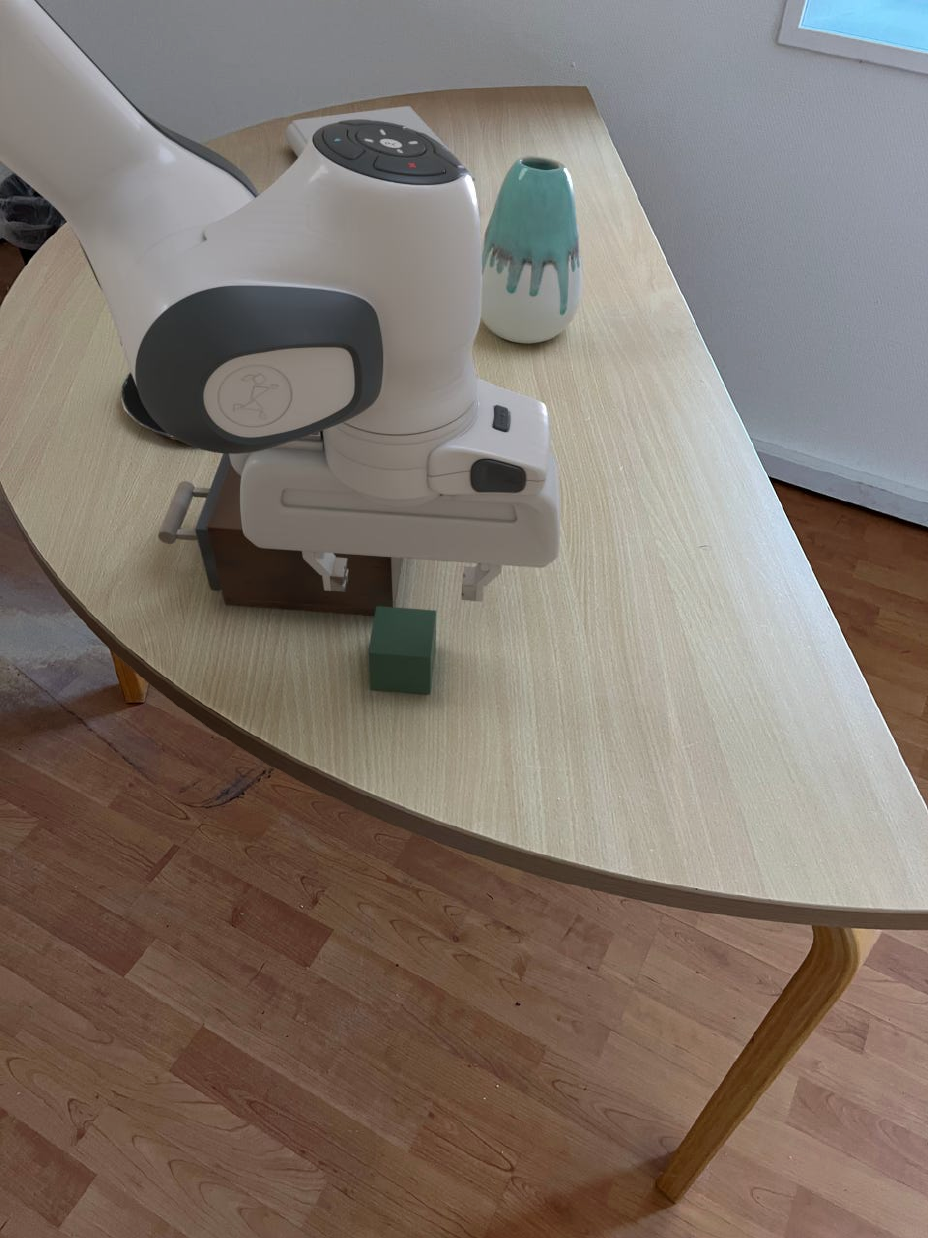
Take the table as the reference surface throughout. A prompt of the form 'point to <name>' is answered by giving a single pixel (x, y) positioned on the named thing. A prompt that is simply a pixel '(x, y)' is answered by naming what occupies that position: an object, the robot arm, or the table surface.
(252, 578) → the cabinet
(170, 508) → the drawer
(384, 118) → the book
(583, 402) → the table surface
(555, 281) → the vase
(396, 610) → the block
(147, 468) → the table surface
